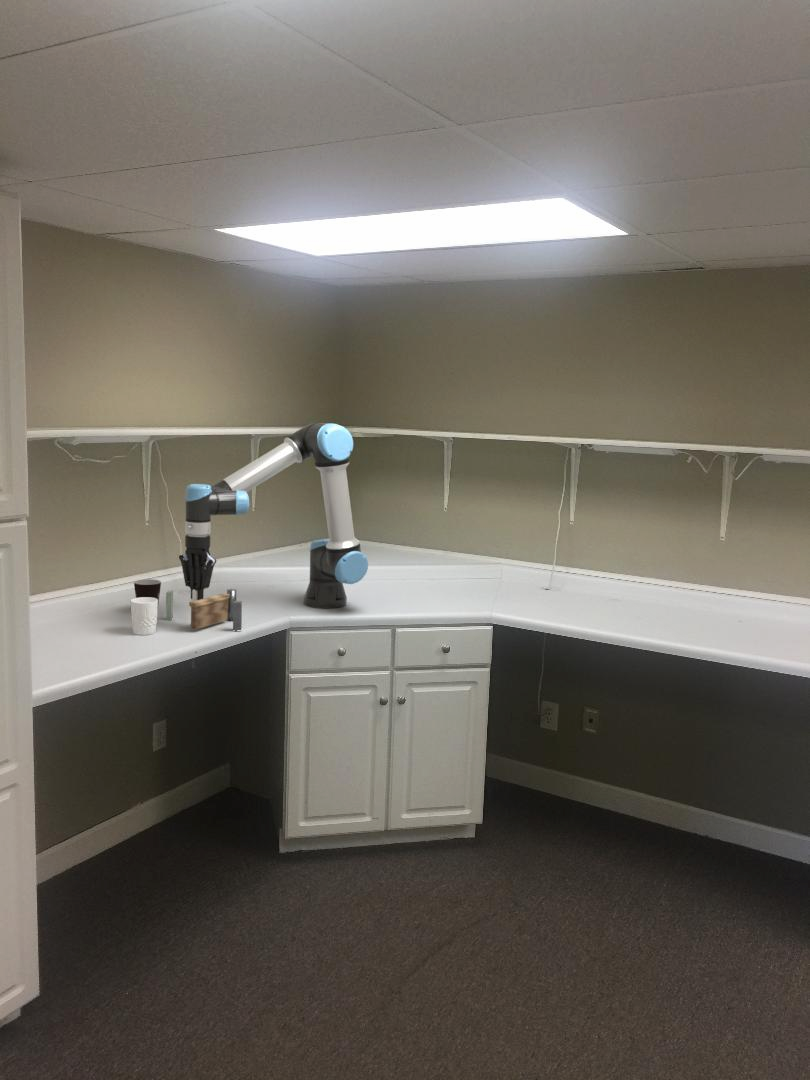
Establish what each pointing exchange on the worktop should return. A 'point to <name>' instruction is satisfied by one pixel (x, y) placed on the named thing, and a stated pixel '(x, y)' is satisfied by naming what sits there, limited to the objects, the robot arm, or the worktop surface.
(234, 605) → the gate frame
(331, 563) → the robot arm
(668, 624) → the worktop surface
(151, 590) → the coffee mug
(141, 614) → the white cup
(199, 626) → the wooden flat block
